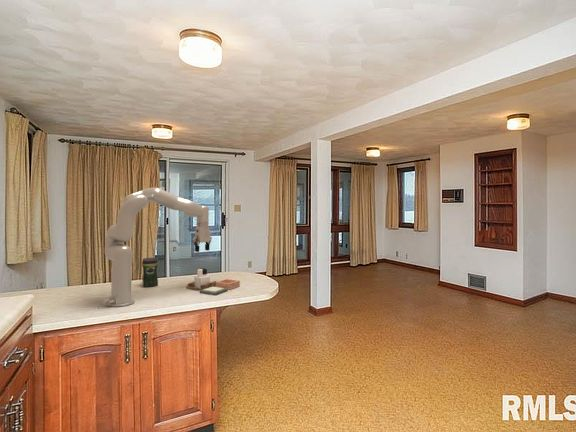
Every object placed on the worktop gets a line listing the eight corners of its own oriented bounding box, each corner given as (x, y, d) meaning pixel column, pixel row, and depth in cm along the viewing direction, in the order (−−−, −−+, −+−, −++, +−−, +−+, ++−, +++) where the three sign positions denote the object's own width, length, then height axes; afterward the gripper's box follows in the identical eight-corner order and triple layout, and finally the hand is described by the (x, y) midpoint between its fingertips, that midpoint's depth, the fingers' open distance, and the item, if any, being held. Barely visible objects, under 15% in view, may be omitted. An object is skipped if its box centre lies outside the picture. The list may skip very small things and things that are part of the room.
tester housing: (215, 295, 197) (215, 293, 197) (199, 293, 203) (199, 290, 203) (227, 291, 208) (227, 288, 208) (212, 288, 213) (212, 286, 213)
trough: (200, 290, 208) (200, 286, 208) (186, 288, 213) (186, 284, 213) (218, 285, 223) (218, 280, 223) (204, 283, 229) (204, 279, 228)
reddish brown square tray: (229, 290, 210) (229, 283, 210) (215, 288, 215) (215, 282, 215) (239, 286, 220) (239, 280, 220) (226, 284, 225) (226, 278, 225)
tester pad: (214, 293, 199) (214, 291, 199) (203, 291, 203) (203, 289, 203) (224, 290, 207) (224, 288, 207) (212, 288, 211) (212, 286, 211)
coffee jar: (157, 284, 226) (157, 256, 225) (158, 286, 219) (158, 258, 218) (141, 285, 222) (141, 257, 221) (142, 288, 215) (142, 259, 214)
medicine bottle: (203, 285, 223) (203, 267, 223) (210, 287, 218) (210, 268, 218) (194, 287, 218) (194, 268, 217) (200, 289, 213) (200, 270, 213)
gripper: (197, 225, 208) (197, 252, 208) (215, 224, 223) (215, 250, 224) (188, 224, 211) (188, 252, 212) (206, 224, 227) (206, 249, 227)
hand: (202, 251), depth 218 cm, fingers open, 9 cm apart
